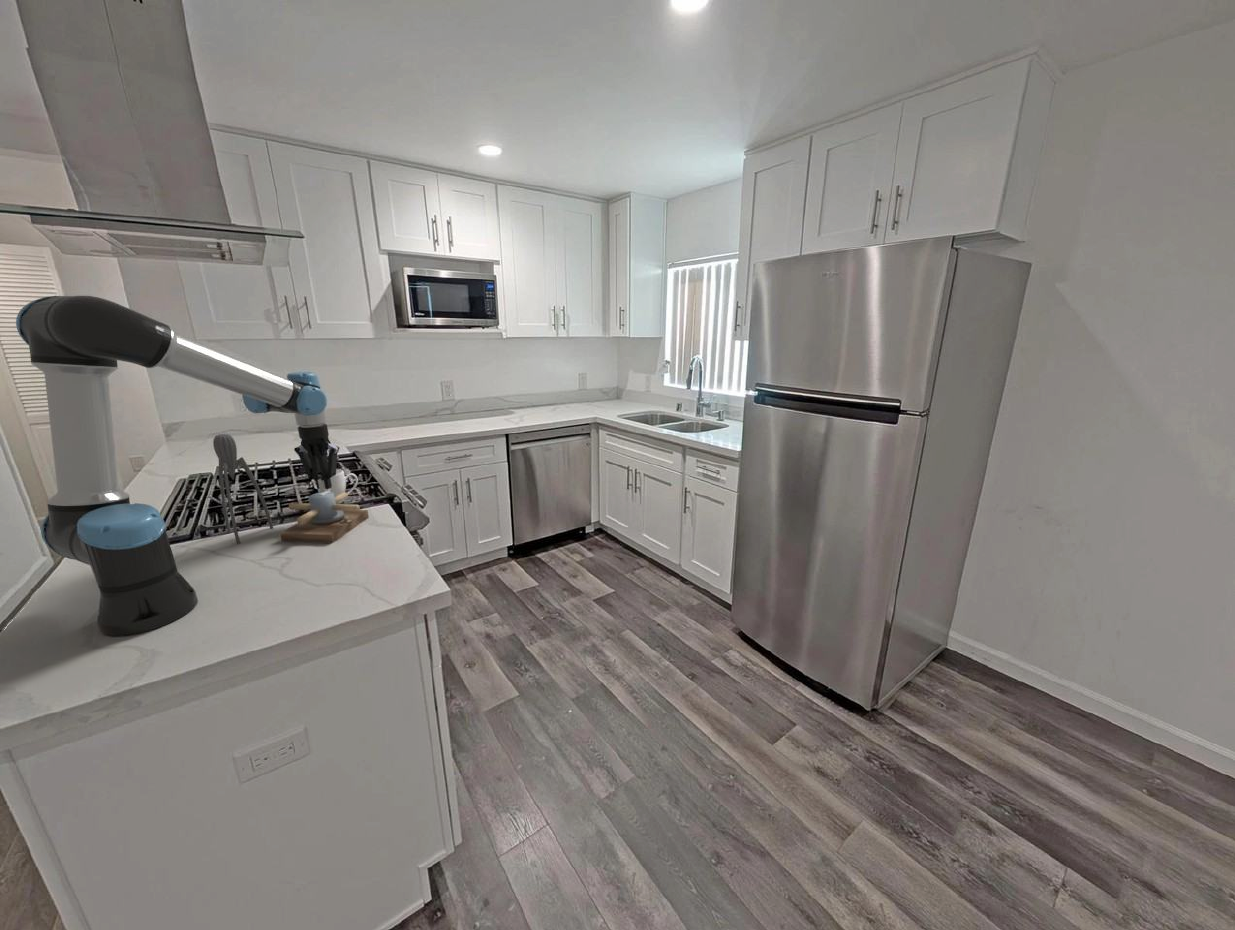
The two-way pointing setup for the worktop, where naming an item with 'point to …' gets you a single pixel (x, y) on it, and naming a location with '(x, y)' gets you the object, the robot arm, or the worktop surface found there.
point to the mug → (340, 483)
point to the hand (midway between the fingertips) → (326, 498)
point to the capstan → (324, 508)
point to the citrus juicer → (229, 462)
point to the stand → (324, 529)
